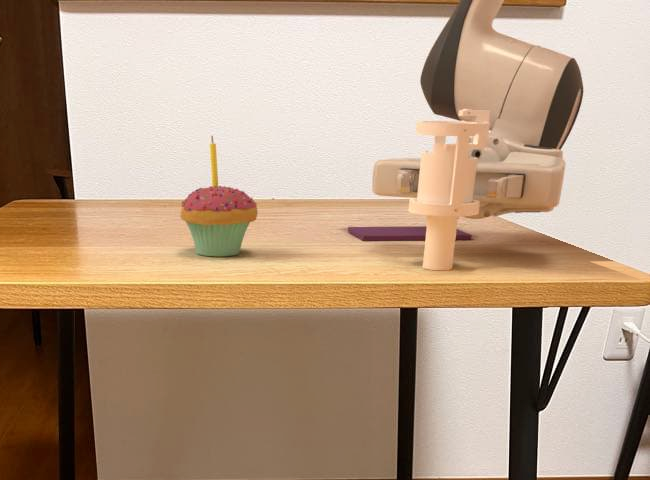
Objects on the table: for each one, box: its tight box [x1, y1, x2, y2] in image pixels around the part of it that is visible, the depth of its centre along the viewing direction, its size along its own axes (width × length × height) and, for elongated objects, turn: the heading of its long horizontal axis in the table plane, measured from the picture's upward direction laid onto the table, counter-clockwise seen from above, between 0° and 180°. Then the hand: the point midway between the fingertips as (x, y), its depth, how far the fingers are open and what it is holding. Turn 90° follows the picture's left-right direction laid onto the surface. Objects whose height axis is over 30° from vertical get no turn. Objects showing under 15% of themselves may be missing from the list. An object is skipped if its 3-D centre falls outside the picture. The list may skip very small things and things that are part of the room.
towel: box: [347, 225, 472, 242], centre depth 113 cm, size 14×8×1 cm, turn 98°
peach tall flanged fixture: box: [408, 109, 490, 271], centre depth 89 cm, size 7×7×15 cm
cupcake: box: [180, 135, 258, 258], centre depth 96 cm, size 9×8×12 cm
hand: (447, 186), depth 89 cm, fingers open, 8 cm apart
